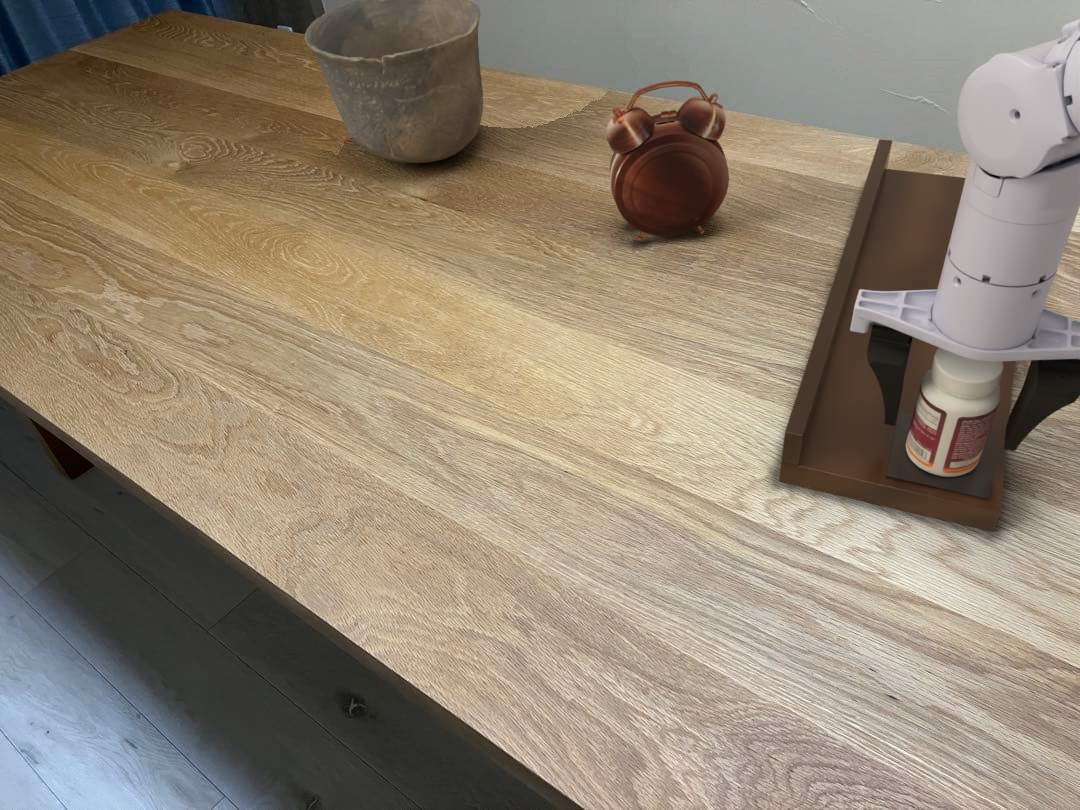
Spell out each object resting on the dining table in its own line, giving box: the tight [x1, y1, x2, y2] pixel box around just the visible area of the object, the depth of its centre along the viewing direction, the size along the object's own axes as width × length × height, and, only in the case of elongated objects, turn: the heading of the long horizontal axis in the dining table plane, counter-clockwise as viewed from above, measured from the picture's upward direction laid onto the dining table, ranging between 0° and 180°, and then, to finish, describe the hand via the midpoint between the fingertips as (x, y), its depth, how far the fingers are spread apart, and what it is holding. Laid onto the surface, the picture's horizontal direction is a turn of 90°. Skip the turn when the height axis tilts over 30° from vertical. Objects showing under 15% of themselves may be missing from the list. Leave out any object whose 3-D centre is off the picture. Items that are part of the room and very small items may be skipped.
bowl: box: [304, 0, 484, 164], centre depth 99 cm, size 18×18×15 cm
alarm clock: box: [605, 80, 730, 242], centre depth 83 cm, size 11×5×15 cm, turn 94°
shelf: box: [778, 138, 1016, 532], centre depth 74 cm, size 14×41×5 cm, turn 157°
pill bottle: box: [906, 348, 1004, 477], centre depth 60 cm, size 5×5×8 cm
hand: (949, 427), depth 61 cm, fingers open, 7 cm apart
